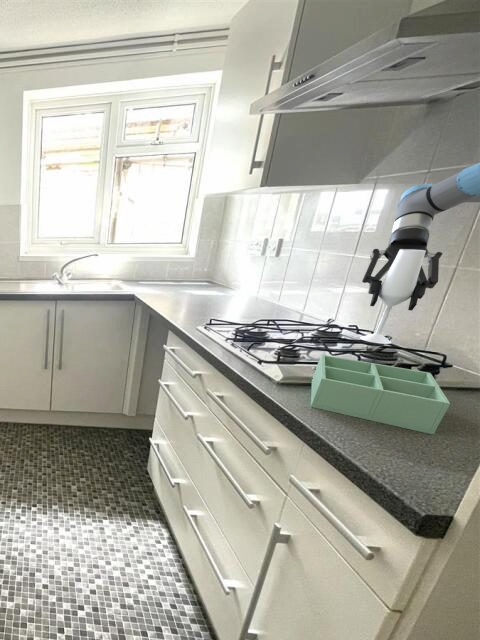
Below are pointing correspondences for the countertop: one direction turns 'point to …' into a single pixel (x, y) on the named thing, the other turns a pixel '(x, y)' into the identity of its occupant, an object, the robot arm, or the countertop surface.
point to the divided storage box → (378, 393)
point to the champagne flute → (397, 287)
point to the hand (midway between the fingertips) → (392, 305)
